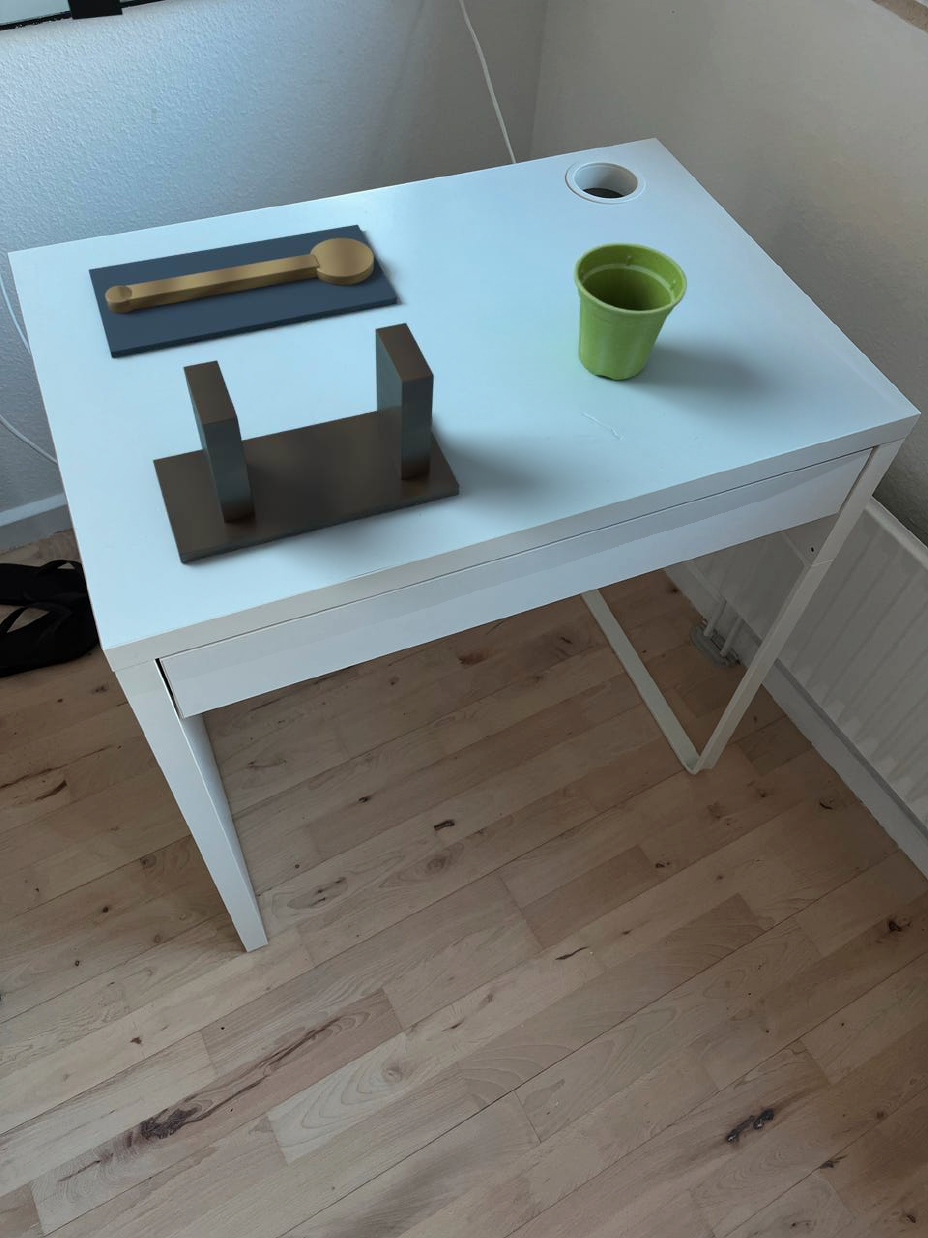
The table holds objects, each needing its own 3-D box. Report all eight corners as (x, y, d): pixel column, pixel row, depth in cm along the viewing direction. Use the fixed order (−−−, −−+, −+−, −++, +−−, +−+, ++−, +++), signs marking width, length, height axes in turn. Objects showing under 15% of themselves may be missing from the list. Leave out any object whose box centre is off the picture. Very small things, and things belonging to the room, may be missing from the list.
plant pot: (597, 407, 81) (617, 325, 74) (539, 342, 86) (553, 258, 79) (683, 375, 84) (709, 293, 77) (622, 314, 89) (643, 231, 82)
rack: (181, 563, 69) (149, 459, 60) (155, 468, 74) (121, 358, 65) (459, 494, 75) (468, 388, 66) (417, 410, 80) (420, 301, 71)
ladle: (114, 328, 82) (110, 317, 81) (103, 287, 85) (99, 275, 84) (382, 278, 88) (382, 267, 88) (362, 242, 92) (362, 231, 91)
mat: (111, 357, 81) (110, 352, 81) (89, 274, 87) (88, 269, 87) (397, 302, 88) (397, 297, 87) (358, 229, 94) (357, 224, 93)
